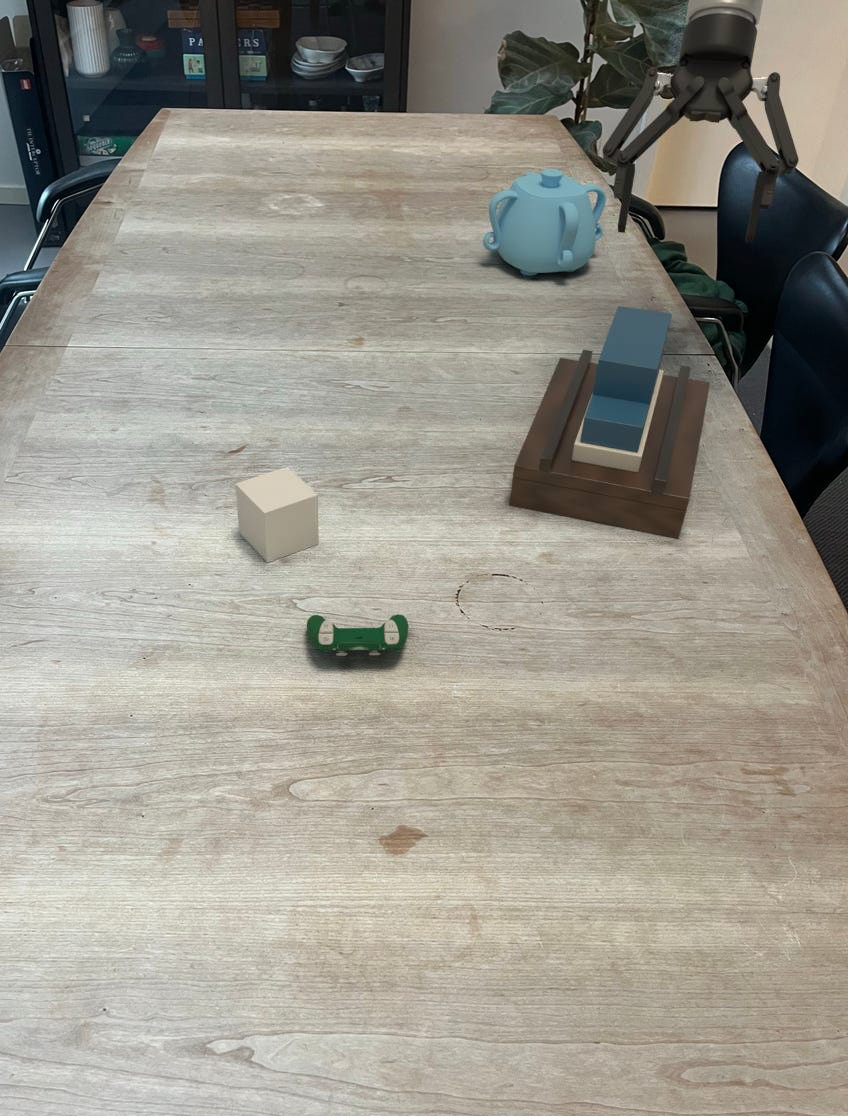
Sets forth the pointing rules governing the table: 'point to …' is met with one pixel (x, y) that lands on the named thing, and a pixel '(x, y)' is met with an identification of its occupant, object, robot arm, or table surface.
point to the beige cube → (277, 514)
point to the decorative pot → (545, 223)
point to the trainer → (624, 391)
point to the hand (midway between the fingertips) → (684, 234)
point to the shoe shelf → (605, 491)
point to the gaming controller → (357, 636)
